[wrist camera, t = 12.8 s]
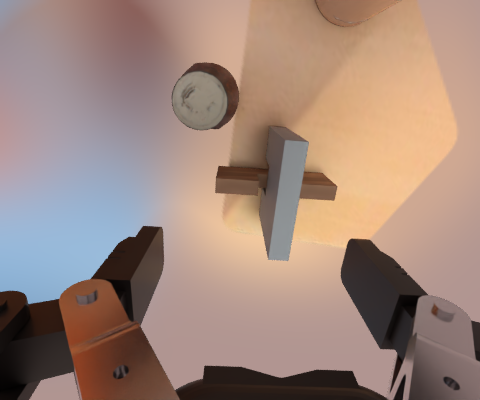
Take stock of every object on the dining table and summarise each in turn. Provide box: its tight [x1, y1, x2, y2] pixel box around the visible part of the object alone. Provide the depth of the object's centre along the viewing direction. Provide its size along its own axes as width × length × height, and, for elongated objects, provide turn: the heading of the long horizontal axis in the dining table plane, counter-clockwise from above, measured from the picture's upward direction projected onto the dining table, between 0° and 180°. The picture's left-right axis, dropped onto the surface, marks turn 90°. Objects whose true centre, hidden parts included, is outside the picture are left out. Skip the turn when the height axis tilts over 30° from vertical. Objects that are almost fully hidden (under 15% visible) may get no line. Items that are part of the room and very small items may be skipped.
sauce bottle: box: [172, 63, 239, 130], centre depth 28 cm, size 7×6×20 cm
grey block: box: [259, 126, 309, 261], centre depth 36 cm, size 14×2×13 cm, turn 175°
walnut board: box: [215, 166, 337, 201], centre depth 39 cm, size 2×16×6 cm, turn 85°
